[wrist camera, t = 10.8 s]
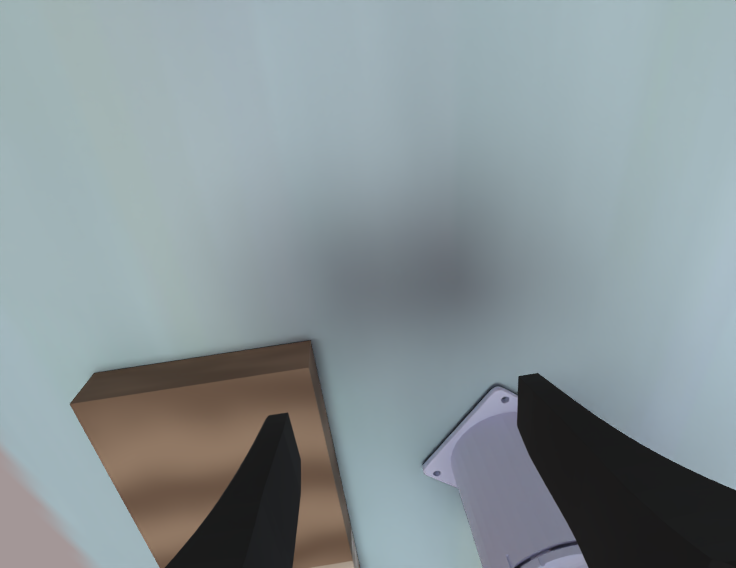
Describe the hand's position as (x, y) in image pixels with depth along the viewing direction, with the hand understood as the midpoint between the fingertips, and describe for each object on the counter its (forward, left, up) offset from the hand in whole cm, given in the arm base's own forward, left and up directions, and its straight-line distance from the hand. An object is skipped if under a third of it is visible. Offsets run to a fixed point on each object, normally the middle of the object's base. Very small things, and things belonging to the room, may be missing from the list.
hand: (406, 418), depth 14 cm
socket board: (-2, +18, -10) cm, 21 cm away
